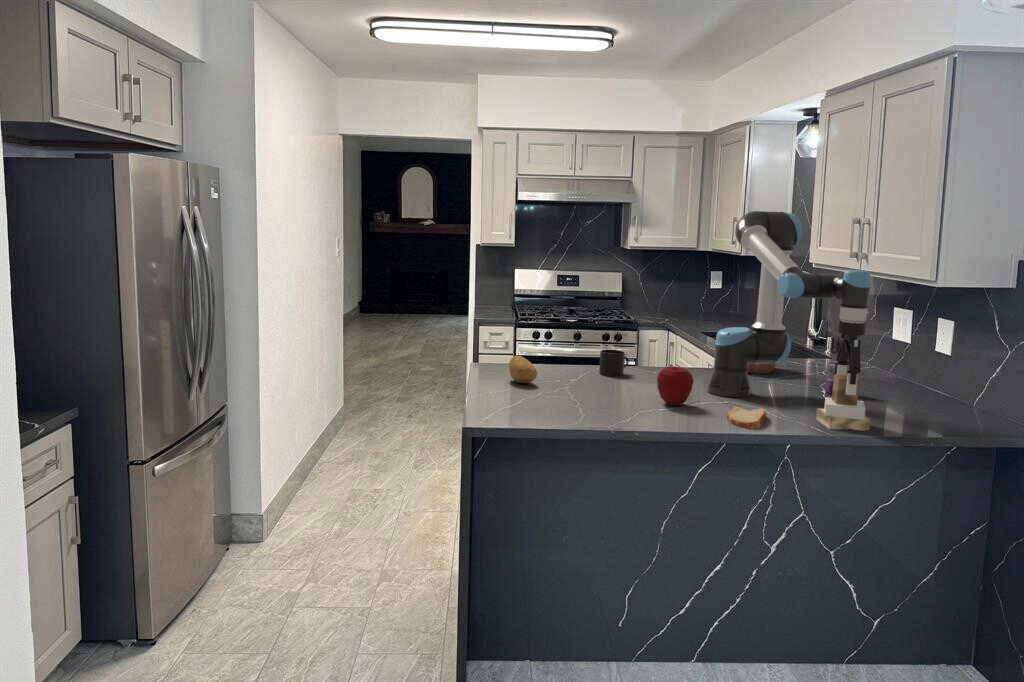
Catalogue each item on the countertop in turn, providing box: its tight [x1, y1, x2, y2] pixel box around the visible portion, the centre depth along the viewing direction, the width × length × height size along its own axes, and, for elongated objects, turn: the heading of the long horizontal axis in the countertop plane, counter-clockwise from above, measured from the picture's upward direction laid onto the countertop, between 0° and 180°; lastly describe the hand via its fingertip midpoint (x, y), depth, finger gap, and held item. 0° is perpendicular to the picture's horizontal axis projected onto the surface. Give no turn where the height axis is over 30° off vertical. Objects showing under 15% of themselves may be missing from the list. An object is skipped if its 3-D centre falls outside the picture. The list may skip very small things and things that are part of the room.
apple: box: [656, 365, 694, 407], centre depth 264 cm, size 12×12×13 cm
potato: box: [508, 355, 538, 384], centre depth 290 cm, size 9×16×9 cm, turn 17°
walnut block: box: [831, 375, 860, 405], centre depth 245 cm, size 6×6×8 cm
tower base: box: [815, 407, 872, 431], centre depth 246 cm, size 12×12×4 cm
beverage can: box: [824, 359, 849, 395], centre depth 292 cm, size 7×7×12 cm
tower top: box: [823, 397, 866, 420], centre depth 246 cm, size 11×11×4 cm
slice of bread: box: [726, 405, 767, 430], centre depth 247 cm, size 18×18×4 cm
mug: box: [598, 349, 629, 377], centre depth 314 cm, size 9×12×9 cm
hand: (845, 390), depth 245 cm, fingers open, 13 cm apart
